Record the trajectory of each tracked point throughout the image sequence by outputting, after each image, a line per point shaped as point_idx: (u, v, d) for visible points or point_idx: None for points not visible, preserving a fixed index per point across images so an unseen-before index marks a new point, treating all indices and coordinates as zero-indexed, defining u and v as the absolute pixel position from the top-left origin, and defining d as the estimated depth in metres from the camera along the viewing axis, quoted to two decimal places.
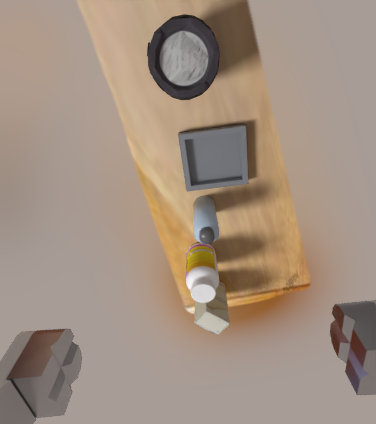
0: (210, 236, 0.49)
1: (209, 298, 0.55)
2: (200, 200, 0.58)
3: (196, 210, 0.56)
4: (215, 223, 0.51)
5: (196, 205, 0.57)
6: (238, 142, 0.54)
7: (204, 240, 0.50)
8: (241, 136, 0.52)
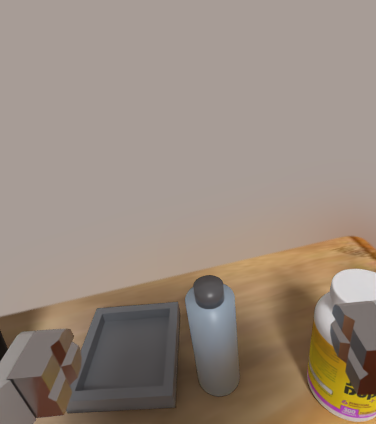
0: (205, 280, 0.26)
1: None
2: (197, 371, 0.30)
3: (200, 360, 0.27)
4: None
5: (200, 371, 0.28)
6: (120, 321, 0.38)
7: (213, 288, 0.25)
8: (108, 312, 0.38)
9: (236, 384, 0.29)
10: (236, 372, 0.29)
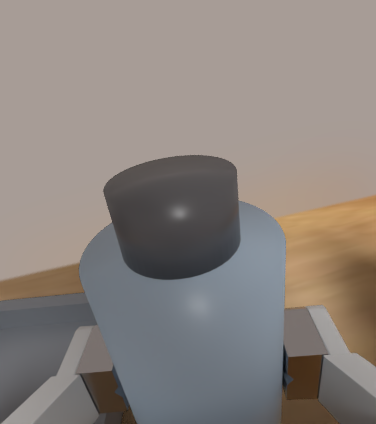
0: (161, 167, 0.06)
1: None
2: None
3: None
4: None
5: None
6: (21, 329, 0.19)
7: (194, 181, 0.05)
8: None
9: None
10: None
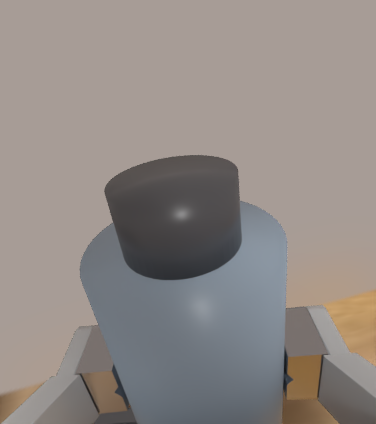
0: (162, 168, 0.06)
1: None
2: None
3: None
4: None
5: None
6: None
7: (195, 181, 0.05)
8: (118, 421, 0.21)
9: None
10: None
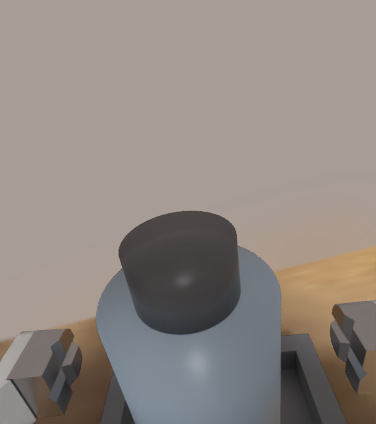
0: (169, 226, 0.07)
1: None
2: None
3: None
4: None
5: None
6: None
7: (199, 247, 0.06)
8: None
9: None
10: None
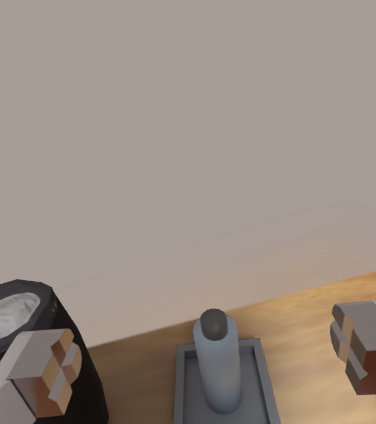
0: (210, 314, 0.29)
1: None
2: (204, 392, 0.33)
3: (207, 384, 0.30)
4: None
5: (208, 393, 0.31)
6: None
7: (218, 322, 0.28)
8: (190, 349, 0.38)
9: (240, 402, 0.33)
10: (240, 391, 0.32)
